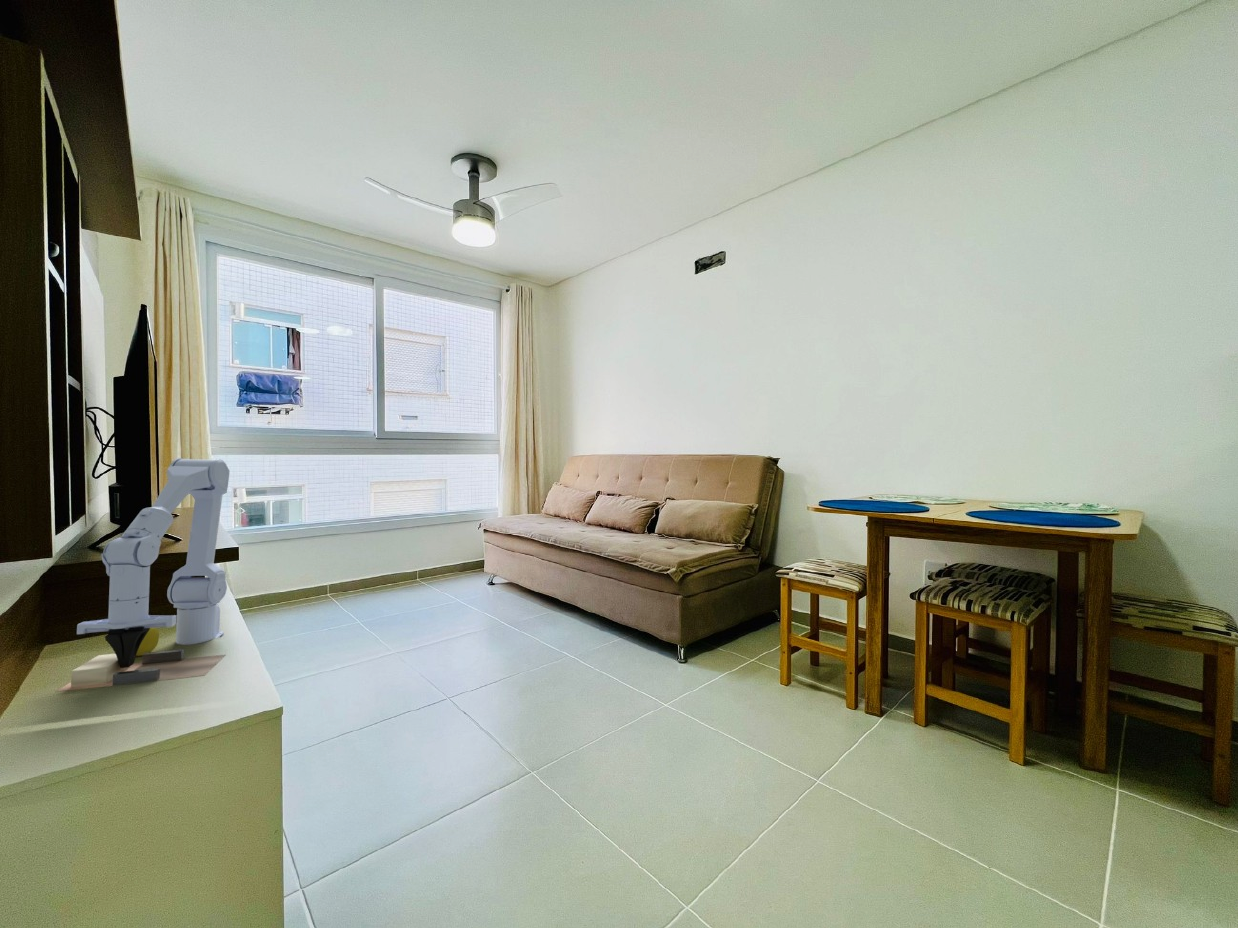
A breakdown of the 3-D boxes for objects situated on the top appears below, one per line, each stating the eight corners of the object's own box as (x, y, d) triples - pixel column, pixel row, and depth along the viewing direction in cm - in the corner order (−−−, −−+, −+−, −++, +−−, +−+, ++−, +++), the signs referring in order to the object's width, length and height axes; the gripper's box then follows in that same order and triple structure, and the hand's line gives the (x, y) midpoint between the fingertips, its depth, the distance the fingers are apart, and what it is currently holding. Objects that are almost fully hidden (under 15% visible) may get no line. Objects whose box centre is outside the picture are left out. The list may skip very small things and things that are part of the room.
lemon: (136, 663, 106) (137, 626, 106) (116, 661, 107) (117, 623, 107) (165, 654, 111) (166, 618, 111) (145, 652, 112) (146, 616, 112)
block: (98, 670, 100) (98, 655, 100) (130, 666, 102) (130, 652, 102) (70, 687, 92) (71, 670, 92) (106, 683, 94) (106, 667, 94)
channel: (144, 662, 105) (145, 652, 105) (183, 658, 107) (184, 649, 107) (112, 685, 94) (112, 674, 94) (156, 680, 96) (156, 670, 96)
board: (94, 671, 102) (94, 667, 102) (226, 658, 110) (226, 654, 110) (54, 695, 91) (55, 691, 91) (204, 679, 99) (204, 675, 99)
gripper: (67, 605, 93) (64, 678, 93) (166, 599, 98) (163, 668, 98) (90, 596, 99) (87, 664, 99) (181, 591, 105) (179, 656, 105)
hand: (126, 665), depth 99 cm, fingers closed
